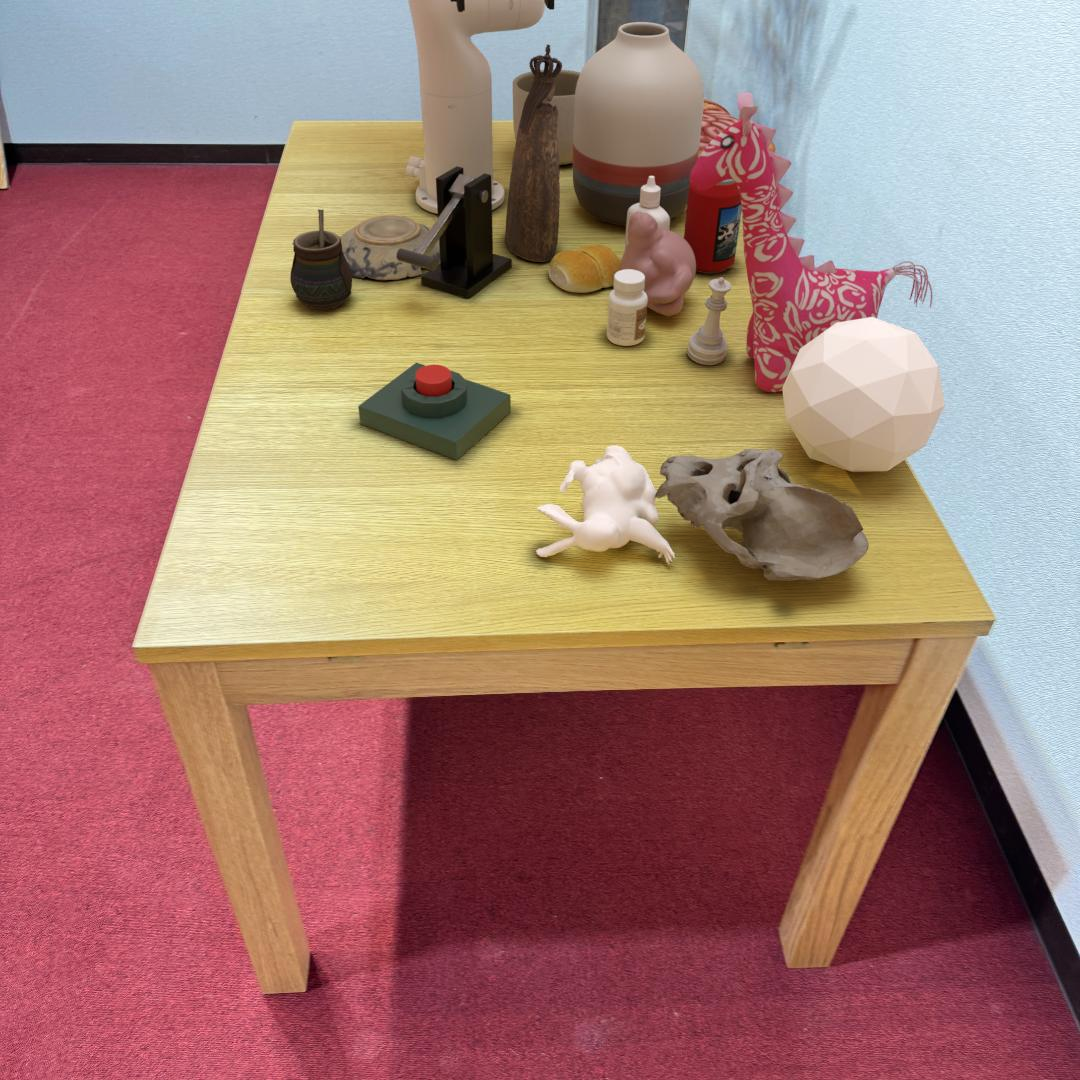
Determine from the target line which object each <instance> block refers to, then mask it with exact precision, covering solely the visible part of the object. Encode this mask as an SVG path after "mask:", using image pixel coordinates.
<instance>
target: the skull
mask: <svg viewBox="0 0 1080 1080" xmlns="http://www.w3.org/2000/svg"><path fill="white" fill-rule="evenodd" d="M783 456H784V455H783V453H782V452H781V451H779V450H776V449H766V450H762V449H757V448H746V449H743V450H741V451H740V452H739V453H735V454H734V455H732V456H728V457H721V458H705V457H702V456H697V455H683V454H680V455H673V456H669V457H668V458H667V459H666V460H665V461H664V462H663V463H662V464H661V465H660V470H659V471H660V472H659V474H660V475H661V476H663V477H665V481H664V482H663V483H661V484H660V486H659V487H658V489H657V490H656V495H655V497H656V499H661V498H663V497H665V496H666V497H667V501H668V502H670V503H671V504H672V505H673V506H674V507H676V508H677V509H676V510H677V513H678V514H679V516H680V517H682V518H683V520H684V521H688V522H690V526H692V527H693V528H695V529H699V528H701V527H702V528H703V529H704V530H705V531H706V533H707V534H708V535H709V536H710V537H711V539H712V540H713V541H714V542H715V543H716V544H717V545H718V546H719V547H720V548H721V550H723V551H724V552H726V553H727V554H733V555H735V556H736V557H737V560H738V561H739V563H740V564H742V565H743V566H745V567H746V568H751V569H761V570H763V575H762V576H763V577H764V578H765V579H766V580H768V582H769V581H784V582H785V581H786V582H790V581H791V582H793V581H797V580H804V581H814V582H815V581H818V580H819V581H820V580H822V579H826V578H830V577H833V576H836V575H838V574H840V573H843V572H844V571H846V570H848V569H849V568H851V567H852V566H854V565H855V564H856V563H857V562H858V561H859V560H861V559H862V558H863V557H864V556H865V555H866V554H867V552H868V551H869V545H870V543H869V541H868V538H867V536H866V534H865V533H864V532H863V531H864V530H865V529H864V528H863V526H862V524H861V521H860V520H859V517H858V516H857V514H856V512H855V510H854V509H853V507H851V506H850V505H849V504H847V503H846V502H842V501H840V500H839V499H837V498H836V497H834V495H832V494H830V493H829V492H826V491H823V490H819V489H817V488H815V487H809V488H808V487H805V486H803V485H800V484H795V483H793V482H792V480H791V479H790V476H789V475H788V473H787V472H786V471H785V470H784V469H782V468H781V467H780V466H779V464H780V462H781V460H782V459H783ZM725 528H727V529H734V530H736V531H738V532H739V533H740V534H742V535H741V544H739V543H738V542H736V541H734V540H733V539H731V538H730V536H728V535H727V533H726V532H725V531H724V529H725Z"/></svg>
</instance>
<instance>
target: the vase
mask: <svg viewBox="0 0 1080 1080" xmlns="http://www.w3.org/2000/svg"><path fill="white" fill-rule="evenodd" d="M704 91H705V90H704V84H703V80H702V76H701V73H700V70H699V69H698V67H697V65H696V63H695V62H694V61H693V60H692V59H691V58H690V56H689V55H687V54H686V53H685V52H684V51H683V50H682V49H680V47H678V46H677V45H676V44H675V43H674V42H673V41H672V40H671V38H670V29H669V28H668V27H667V26H666V25H663V24H660V23H656V22H649V21H648V22H647V21H635V22H627V23H623V24H622V25H620V26H619V27H618V29H617V34H616V36H615V38H614V39H613V40H612V41H610V42H609V43H608V44H607V45H605V46H603V47H601V49H599V50H598V51H597V52H595V53H594V54H593V55H592V56H591V57H590V58H589V59H588V60H587V61H586V63H585V64H584V65H583V67H582V69H581V71H580V76H579V79H578V81H577V85H576V90H575V101H574V129H573V163H572V185H573V186H572V187H573V190H574V193H575V196H576V199H577V201H578V203H579V205H580V207H581V208H582V209H583V210H584V211H585V213H587V214H588V215H590V216H591V217H593V218H595V219H597V220H599V221H602V222H604V223H607V224H611V225H616V226H622V227H626V223H627V212H628V209H629V208H630V207H631V206H632V205H634V204H636V203H640V192H641V187H642V186H643V185H646V184H647V181H648V178H649V176H654V177H655V184H656V185H657V186H659V187H660V188H661V192H660V204H659V206H660V207H662V208H663V209H664V210H665V211H666V212H667V214H668V215H669V217H670V220H673V219H674V218H675V217H678V216H679V215H680V214H681V213H682V212H683V211H684V209H685V208H687V201H688V192H689V184H690V174H691V172H692V169H693V168H694V166H695V164H696V162H697V160H698V154H699V144H700V135H701V126H702V116H703V105H704V99H705V92H704Z"/></svg>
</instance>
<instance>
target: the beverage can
mask: <svg viewBox="0 0 1080 1080" xmlns="http://www.w3.org/2000/svg"><path fill="white" fill-rule="evenodd" d="M741 218H742V205H741V198H740V194H739V190H738V187H737V184H736V182H735V181H734V180H732V179H727V180H724V181H722V182H720V183H718V184H716V185H714V186H712V187H711V188H709V189H705V190H702V191H700V190H698V189H697V187H695V186H692V185H691V183H690V184H689V192H688V201H687V205H686V211H685V220H684V230H683V231H684V232H683V238H684V239H685V240H686V241H687V242H688V244H689V245H690V247H691V248H692V250H693V253H694V256H695V261H696V272H698V273H703V274H718V273H722V272H724V271H725V270H727V269H729V268H731V267H732V266H733V265H734V264H735V261H736V254H737V253H736V252H737V247H738V239H739V234H740V233H739V232H740V227H741V226H740V225H741Z"/></svg>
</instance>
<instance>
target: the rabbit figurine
mask: <svg viewBox="0 0 1080 1080" xmlns="http://www.w3.org/2000/svg"><path fill="white" fill-rule="evenodd" d="M574 480H577V481H578V482H579V483H580V489H581V492H582V494H583V496H581V502H580V506H581V508H582V513H583V521H579V520H578V521H577V520H576V519H574V518H573V517H571V516H570V515H569V514H568V513H567V512H566V511H565V510H564V509H563V508H562V507H561V506H559V505H557V504H554V503H547V504H542V505H539V506H538V507H536V511H538V512H539V513H541V514H542V515H544V516H545V517H547V518H549V519H550V520H551V521H553V522H554V523H555V524H557V525H559V526H560V527H562V528H564V529H566V530H568V531H570V532H571V533H572V536H569V537H566V538H563V539H560V540H558V541H556V542H553V543H552V544H549V545H547V546H544V547H539V548H537V549H536V550H535V552H536V555H537V556H538V557H541V558H547V557H551V556H552V557H553V556H554V555H556V554H559V553H561V552H564V551H566V550H568V549H571V548H573V547H574V548H575V547H578V548H580V549H583V550H587V551H590V552H596V553H600V552H601V553H602V552H605V551H608V550H609V549H620V548H623V547H624V546H625V545H627V544H628V543H629V542H630V541H631V542H635V543H637V544H641V545H644V546H646V547H648V548H650V549H652V550H654V551H655V552H656V553H659V554H658V556H657V557H658V559H661V558H662V557H663V556H664V559H665V562H666V563H667V564H668V565H671V564H670V562H671V563H673V559H676V556H675V555H676V554H675V552H674V551H673V549H672V548H671V546H670V543H669V542H668V541H667V540H666V539H665V538H664V537H663V535H661V533H660V532H659V531H658V530H657V528H655V526H656V525H657V524H658V522H659V519H660V513H659V512H658V509H657V507H656V506H655V502H656V500H657V498H656V497H655V495H656V493H657V490H656V488H655V486H654V484H653V482H652V480H651V477H650V476H649V474H648V471H647V470H646V468H645V467H644V465H642V463H639V462H637V461H634V460H633V458H632V455H631V454H630V453H629V452H628V451H627V450H626V449H625V448H624V447H622V446H621V445H616V444H615V445H614V444H613V445H608V446H607V447H606V448H605V449H604V451H603V455H601V457H599V458H598V459H595V460H594V461H593V464H592V465H590V466H587V464H586V462H585V461H584V460H579V459H578V460H574V461H571V462H570V463H569V465H568V468H567V474H566V475H565V477H564V480H562V482H561V484H560V486H559V491H560V492H561V493H565V492H567V490H568V488H569V486H570V484H571V483H572V482H573V481H574Z"/></svg>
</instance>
